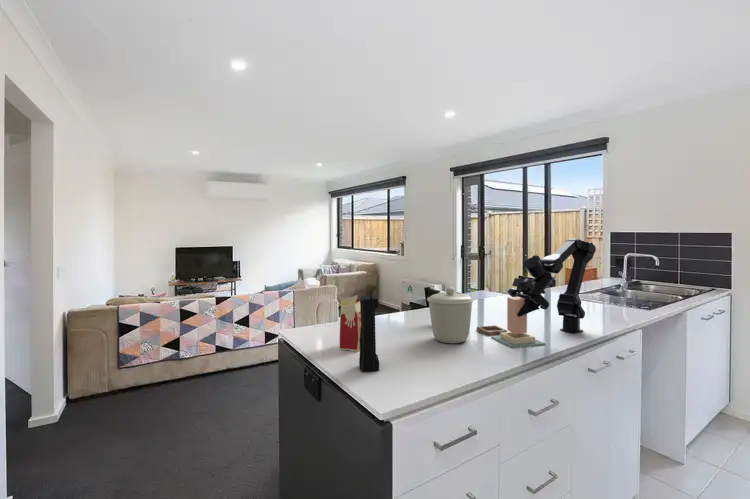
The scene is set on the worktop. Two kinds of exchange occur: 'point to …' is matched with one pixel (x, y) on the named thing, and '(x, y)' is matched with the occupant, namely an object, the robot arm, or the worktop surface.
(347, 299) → the milk carton
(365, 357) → the portable radio
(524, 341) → the mat
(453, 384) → the worktop surface
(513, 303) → the peg
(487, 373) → the worktop surface
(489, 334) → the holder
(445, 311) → the canister
